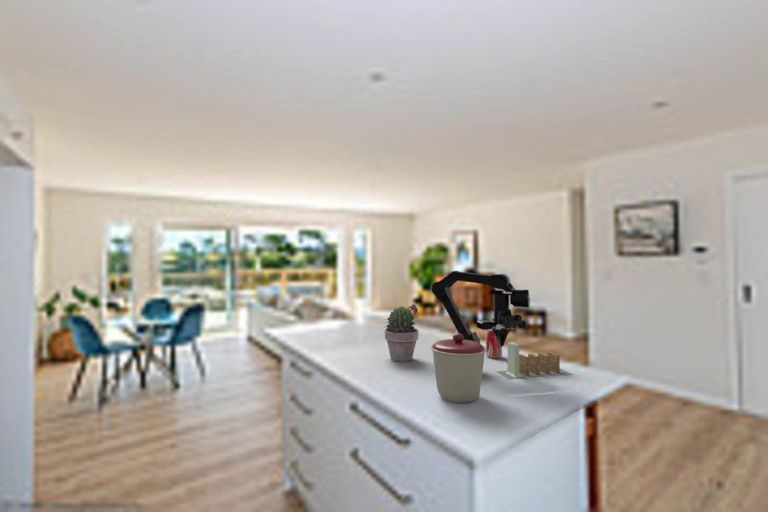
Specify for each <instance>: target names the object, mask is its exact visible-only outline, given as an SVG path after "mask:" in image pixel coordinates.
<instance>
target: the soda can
mask: <svg viewBox="0 0 768 512" xmlns="http://www.w3.org/2000/svg"><path fill="white" fill-rule="evenodd" d="M485 347H486V349H487V351H486V352H485V356H486V357H487V358H489V359H494V358H497V359H501V357H502V356H503V346H502V347H501V346H500V345H499V343H498V340H497V338H496V336H495V334H494V332H493V330H486V331H485Z"/></svg>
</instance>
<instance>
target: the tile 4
mask: <svg viewBox="0 0 768 512" xmlns="http://www.w3.org/2000/svg"><path fill="white" fill-rule="evenodd" d="M537 356H539V367H540V371H541V372H543V373H545V374H550V356H548V354H545V353H542V352H538V353H537Z"/></svg>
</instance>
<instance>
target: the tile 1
mask: <svg viewBox="0 0 768 512" xmlns="http://www.w3.org/2000/svg"><path fill="white" fill-rule="evenodd" d="M519 354H520V344H518V343H516V342H512V341H510V342H509V341H508V342H507V371H508V373H510V374H511V375H513V376H519Z"/></svg>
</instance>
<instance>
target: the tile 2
mask: <svg viewBox="0 0 768 512" xmlns="http://www.w3.org/2000/svg"><path fill="white" fill-rule="evenodd" d="M519 373H521V374H523V375H525V376H528V375H529V357H528V355H525V354H523V353H519Z"/></svg>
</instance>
